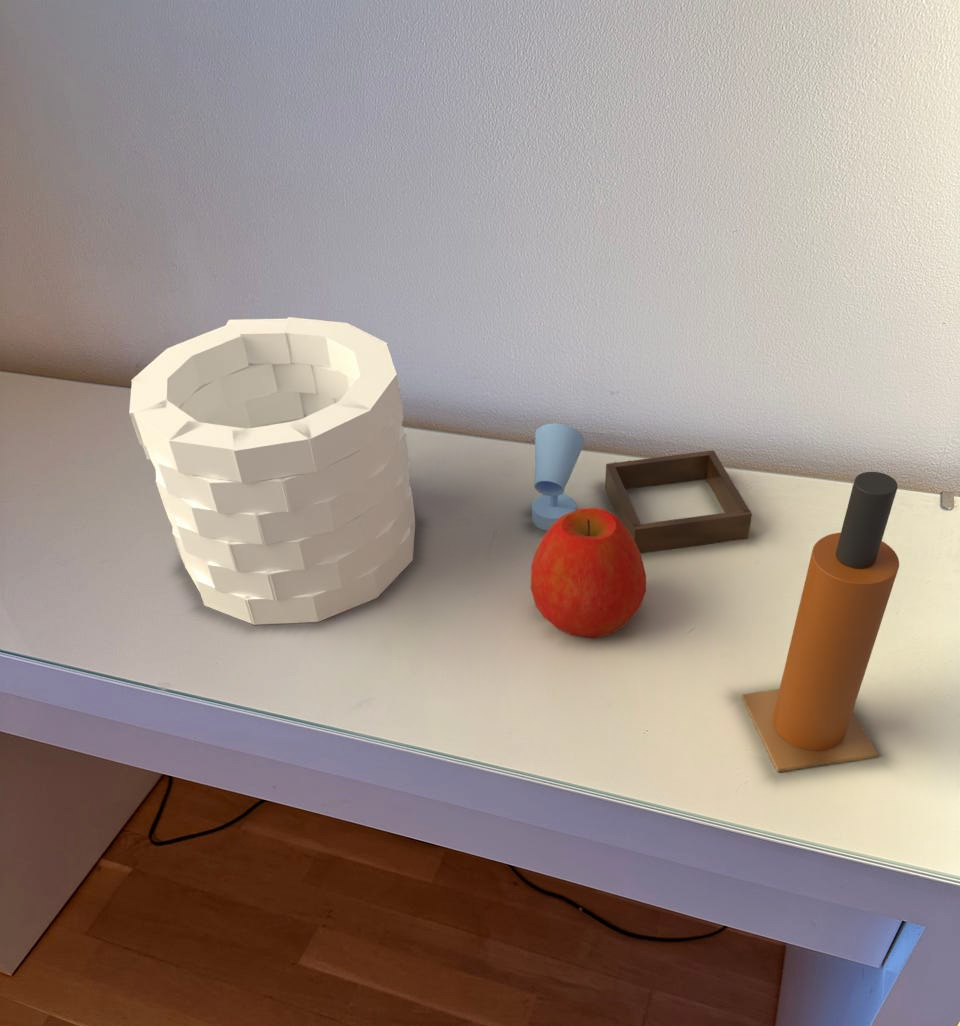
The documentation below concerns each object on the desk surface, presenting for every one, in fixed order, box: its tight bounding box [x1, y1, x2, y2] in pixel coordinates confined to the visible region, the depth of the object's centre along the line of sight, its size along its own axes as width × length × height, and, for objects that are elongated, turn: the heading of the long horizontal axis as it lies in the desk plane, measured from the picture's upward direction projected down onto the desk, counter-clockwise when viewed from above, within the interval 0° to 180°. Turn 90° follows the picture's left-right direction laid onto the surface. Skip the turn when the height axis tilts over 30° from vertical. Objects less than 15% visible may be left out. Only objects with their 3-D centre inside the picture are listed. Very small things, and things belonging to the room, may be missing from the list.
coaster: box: [741, 688, 879, 773], centre depth 77 cm, size 8×8×1 cm
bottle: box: [773, 471, 900, 751], centre depth 69 cm, size 6×6×23 cm
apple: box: [530, 507, 647, 639], centre depth 85 cm, size 10×10×10 cm
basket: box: [128, 316, 416, 626], centre depth 91 cm, size 25×24×19 cm
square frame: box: [604, 449, 753, 554], centre depth 97 cm, size 12×12×3 cm
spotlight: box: [531, 423, 585, 532], centre depth 96 cm, size 5×10×7 cm
